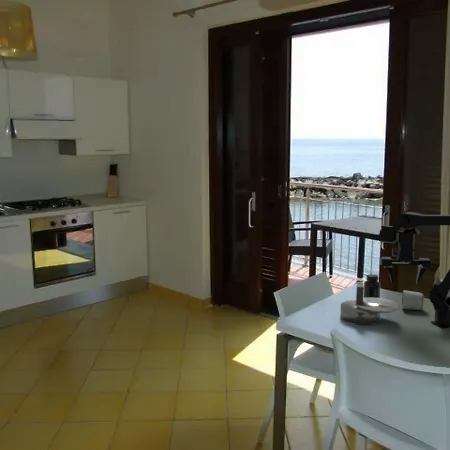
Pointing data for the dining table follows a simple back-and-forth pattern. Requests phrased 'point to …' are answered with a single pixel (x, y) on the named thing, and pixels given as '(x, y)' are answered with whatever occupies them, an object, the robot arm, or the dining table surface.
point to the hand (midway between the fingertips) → (404, 283)
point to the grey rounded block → (412, 300)
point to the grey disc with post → (373, 302)
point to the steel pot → (357, 314)
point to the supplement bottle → (372, 286)
